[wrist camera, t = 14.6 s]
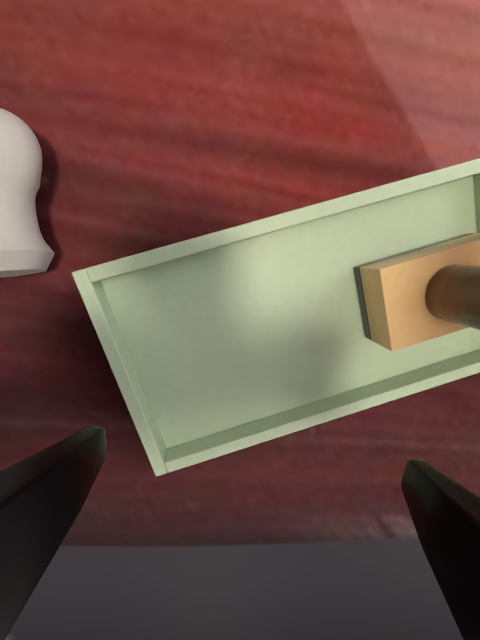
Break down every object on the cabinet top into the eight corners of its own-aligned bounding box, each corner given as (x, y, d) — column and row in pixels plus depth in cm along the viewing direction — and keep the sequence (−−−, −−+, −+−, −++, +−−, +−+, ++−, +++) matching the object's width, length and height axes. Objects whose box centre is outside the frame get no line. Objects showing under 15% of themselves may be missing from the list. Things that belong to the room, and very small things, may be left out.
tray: (160, 455, 21) (155, 477, 19) (85, 270, 18) (70, 272, 16) (487, 351, 22) (515, 361, 20) (475, 161, 19) (507, 150, 17)
